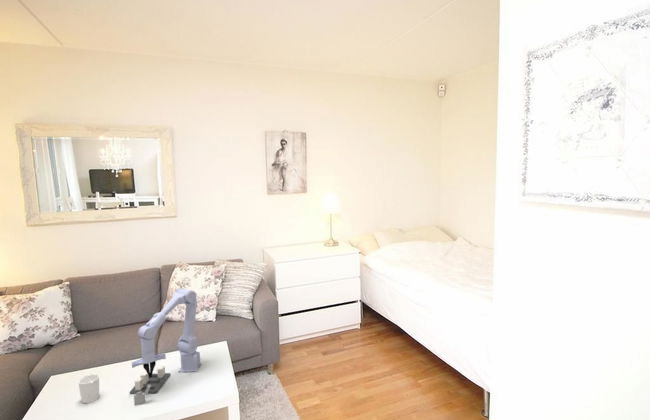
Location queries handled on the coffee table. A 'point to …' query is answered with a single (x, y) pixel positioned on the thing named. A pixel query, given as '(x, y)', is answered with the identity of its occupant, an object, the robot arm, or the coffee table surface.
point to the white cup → (89, 388)
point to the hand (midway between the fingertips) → (150, 376)
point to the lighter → (141, 396)
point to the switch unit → (153, 384)
